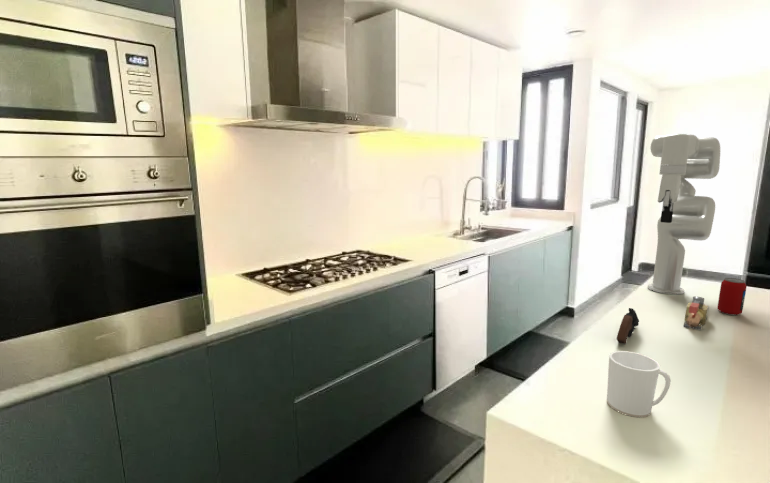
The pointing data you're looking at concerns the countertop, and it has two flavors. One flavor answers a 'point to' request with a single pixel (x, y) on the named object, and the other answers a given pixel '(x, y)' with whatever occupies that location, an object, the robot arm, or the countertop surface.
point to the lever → (696, 304)
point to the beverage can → (732, 296)
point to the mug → (634, 383)
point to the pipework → (695, 317)
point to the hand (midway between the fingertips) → (666, 222)
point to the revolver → (627, 326)
